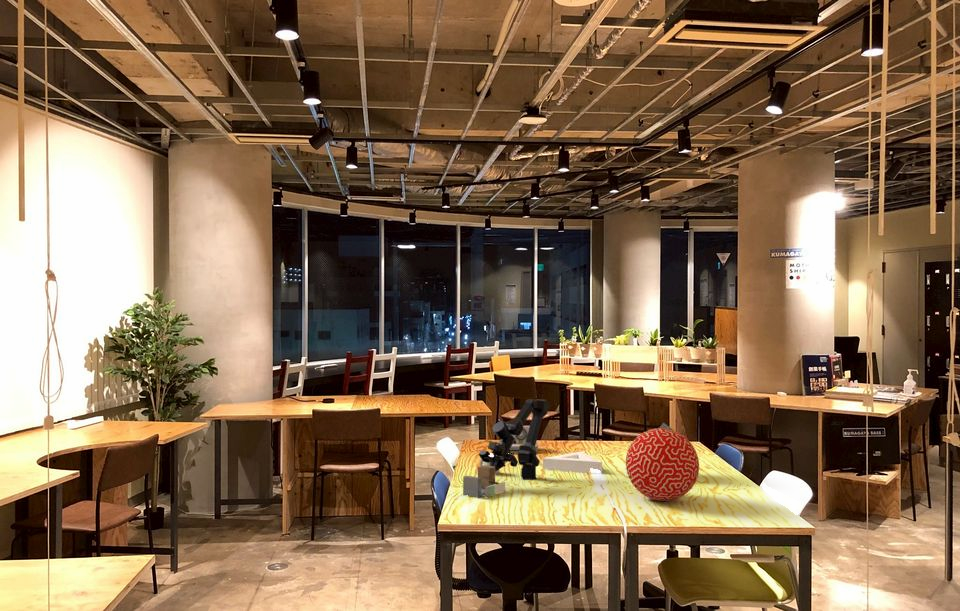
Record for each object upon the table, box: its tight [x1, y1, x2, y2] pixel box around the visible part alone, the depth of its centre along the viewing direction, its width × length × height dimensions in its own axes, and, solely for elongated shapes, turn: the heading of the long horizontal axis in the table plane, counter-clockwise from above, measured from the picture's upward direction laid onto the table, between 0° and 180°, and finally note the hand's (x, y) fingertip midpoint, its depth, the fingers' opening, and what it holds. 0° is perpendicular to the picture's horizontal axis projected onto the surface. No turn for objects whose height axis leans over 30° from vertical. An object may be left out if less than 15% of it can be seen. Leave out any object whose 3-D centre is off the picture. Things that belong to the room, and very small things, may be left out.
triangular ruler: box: [542, 450, 603, 474], centre depth 370 cm, size 30×26×6 cm
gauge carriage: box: [477, 464, 500, 489], centre depth 314 cm, size 5×11×9 cm, turn 53°
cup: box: [478, 458, 500, 475], centre depth 354 cm, size 7×10×9 cm
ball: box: [625, 427, 700, 502], centre depth 301 cm, size 30×30×30 cm
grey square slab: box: [462, 475, 481, 498], centre depth 308 cm, size 2×8×8 cm, turn 52°
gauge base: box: [481, 481, 506, 498], centre depth 313 cm, size 14×11×4 cm
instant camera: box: [510, 425, 539, 453], centre depth 415 cm, size 21×21×15 cm
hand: (490, 473), depth 318 cm, fingers closed, pressing on gauge carriage
